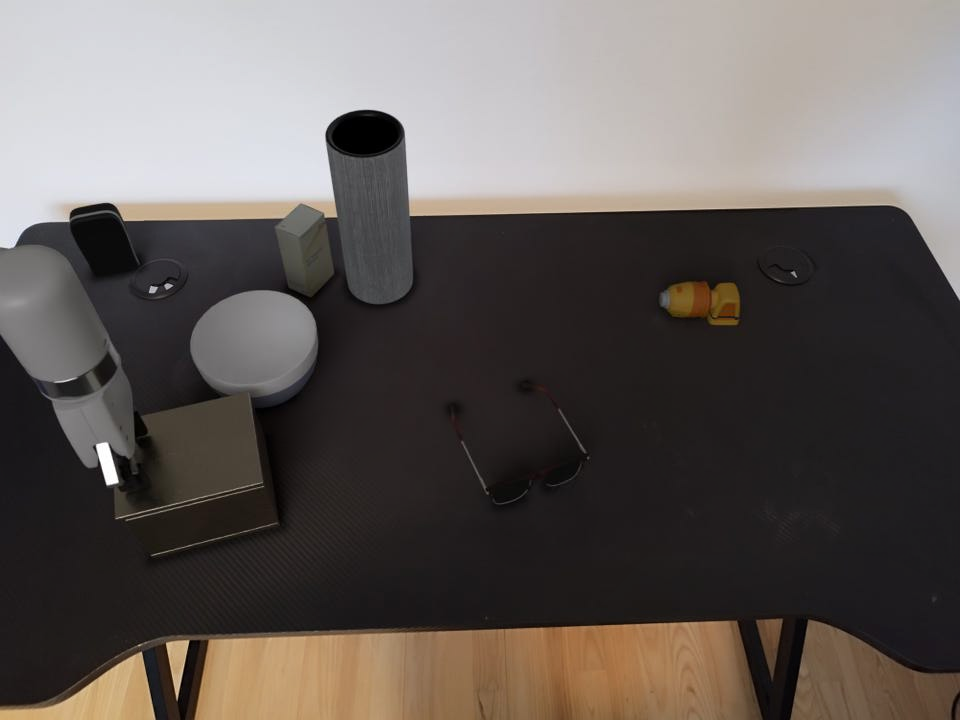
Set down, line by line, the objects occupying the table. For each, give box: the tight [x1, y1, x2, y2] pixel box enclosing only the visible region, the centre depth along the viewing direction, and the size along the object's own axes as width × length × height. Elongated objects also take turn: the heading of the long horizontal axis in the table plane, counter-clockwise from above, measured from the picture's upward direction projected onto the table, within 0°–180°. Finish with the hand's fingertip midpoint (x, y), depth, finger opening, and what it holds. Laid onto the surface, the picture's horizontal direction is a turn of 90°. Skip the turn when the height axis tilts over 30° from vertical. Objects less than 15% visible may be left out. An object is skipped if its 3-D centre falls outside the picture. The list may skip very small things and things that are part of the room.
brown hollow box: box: [124, 397, 281, 559], centre depth 94 cm, size 15×13×10 cm
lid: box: [113, 392, 264, 523], centre depth 88 cm, size 16×13×5 cm
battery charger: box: [68, 202, 140, 278], centre depth 117 cm, size 7×4×11 cm, turn 109°
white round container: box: [189, 289, 319, 409], centre depth 105 cm, size 16×16×10 cm
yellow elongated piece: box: [658, 280, 741, 326], centre depth 117 cm, size 5×6×12 cm
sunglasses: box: [450, 382, 590, 505], centre depth 102 cm, size 14×16×5 cm
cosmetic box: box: [274, 202, 335, 298], centre depth 116 cm, size 6×4×12 cm
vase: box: [324, 109, 414, 305], centre depth 110 cm, size 10×10×27 cm
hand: (134, 460), depth 88 cm, fingers closed on lid, 6 cm apart
